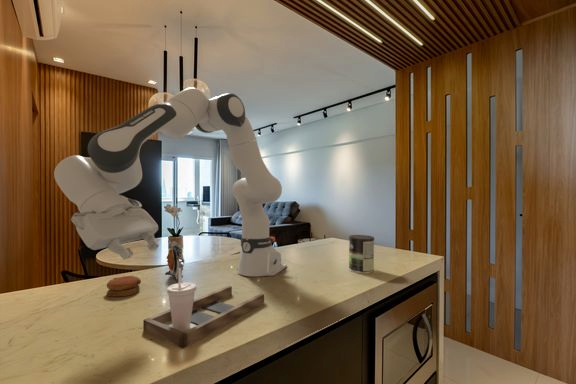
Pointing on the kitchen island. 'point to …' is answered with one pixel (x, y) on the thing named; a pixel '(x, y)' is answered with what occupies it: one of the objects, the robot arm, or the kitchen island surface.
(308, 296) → the kitchen island surface
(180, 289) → the smoothie
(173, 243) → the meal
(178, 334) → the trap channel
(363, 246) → the coffee can
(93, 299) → the kitchen island surface
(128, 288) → the burger
